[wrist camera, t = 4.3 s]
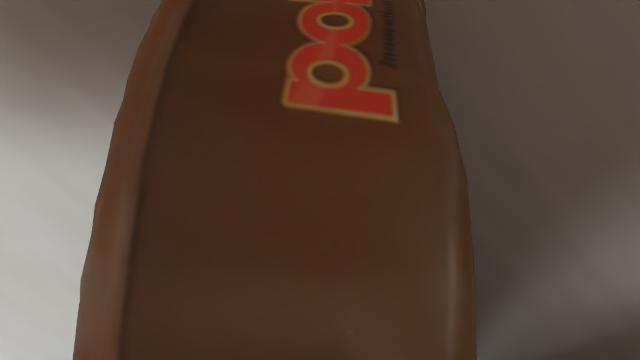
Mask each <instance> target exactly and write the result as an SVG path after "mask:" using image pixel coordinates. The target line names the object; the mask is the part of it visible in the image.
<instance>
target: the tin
mask: <svg viewBox="0 0 640 360" xmlns="http://www.w3.org/2000/svg"><path fill="white" fill-rule="evenodd" d="M425 16H426V8H425V3H424V0H163V1H162V3H161V5H160V6H159V8H158V10H157V11H156V13H155V15H154V16H153V18H152V20H151V23H150V26H149V28H148V30H147V32H146V34H145V36H144V38H143V40H142V42H141V44H140V46H139V49H138V51H137V54H136V57H135V60H134V63H133V66H132V69H131V71H130V74H129V77H128V80H127V84H126V89H125V93H124V98H123V102H122V105H121V107H120V110H119V112H118V115H117V117H116V120H115V122H114V128H113V133H112V138H111V143H110V148H109V153H108V157H107V162H106V167H105V171H104V174H103V178H102V182H101V185H100V189H99V193H98V196H97V200H96V204H95V210H94V218H93V227H92V233H91V239H90V243H89V247H88V251H87V256H86V260H85V264H84V268H83V273H82V277H81V286H80V303H79V310H78V318H77V327H76V337H75V345H74V353H73V360H477V354H476V321H475V288H474V259H473V247H472V236H471V224H470V212H469V200H468V189H467V179H466V174H465V170H464V165H463V161H462V157H461V152H460V148H459V144H458V139H457V135H456V131H455V126H454V124H453V122H452V119H451V117H450V114H449V112H448V109H447V107H446V105H445V102H444V100H443V97H442V95H441V93H440V90H439V88H438V82H437V77H436V72H435V66H434V61H433V56H432V51H431V46H430V41H429V36H428V31H427V26H426V21H425Z"/></svg>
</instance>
